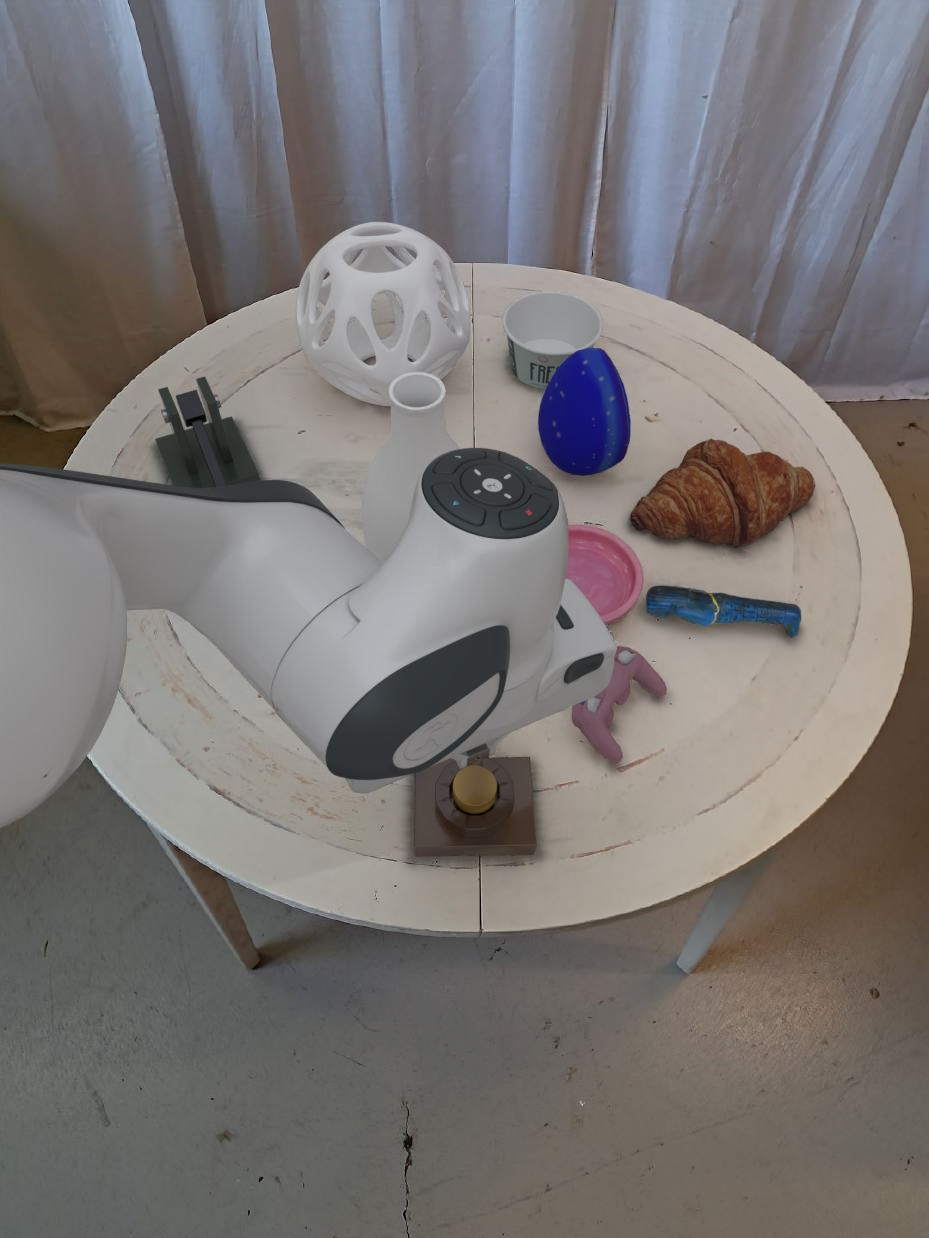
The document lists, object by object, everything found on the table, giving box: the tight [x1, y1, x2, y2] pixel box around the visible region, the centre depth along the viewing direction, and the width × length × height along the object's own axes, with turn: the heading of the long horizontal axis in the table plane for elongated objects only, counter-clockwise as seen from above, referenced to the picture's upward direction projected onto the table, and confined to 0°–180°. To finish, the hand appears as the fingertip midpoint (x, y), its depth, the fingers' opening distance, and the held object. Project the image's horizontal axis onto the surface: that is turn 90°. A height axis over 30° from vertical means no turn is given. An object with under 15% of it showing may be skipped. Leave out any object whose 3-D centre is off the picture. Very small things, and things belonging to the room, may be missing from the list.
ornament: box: [537, 347, 632, 477], centre depth 94 cm, size 11×9×15 cm
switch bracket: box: [154, 376, 261, 488], centre depth 95 cm, size 10×9×10 cm
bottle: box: [359, 372, 462, 563], centre depth 79 cm, size 11×11×25 cm
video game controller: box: [570, 645, 668, 763], centre depth 80 cm, size 10×5×7 cm, turn 145°
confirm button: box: [453, 765, 497, 814], centre depth 72 cm, size 4×4×2 cm
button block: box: [413, 756, 537, 858], centre depth 74 cm, size 10×8×4 cm
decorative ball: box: [295, 221, 472, 408], centre depth 101 cm, size 20×20×17 cm
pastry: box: [629, 438, 817, 548], centre depth 93 cm, size 17×15×8 cm
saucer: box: [565, 523, 644, 626], centre depth 89 cm, size 12×12×3 cm
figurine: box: [645, 584, 802, 638], centre depth 87 cm, size 5×4×15 cm
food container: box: [501, 290, 604, 391], centre depth 107 cm, size 12×12×6 cm
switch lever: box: [175, 389, 227, 487], centre depth 93 cm, size 13×5×2 cm
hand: (472, 753), depth 68 cm, fingers closed
